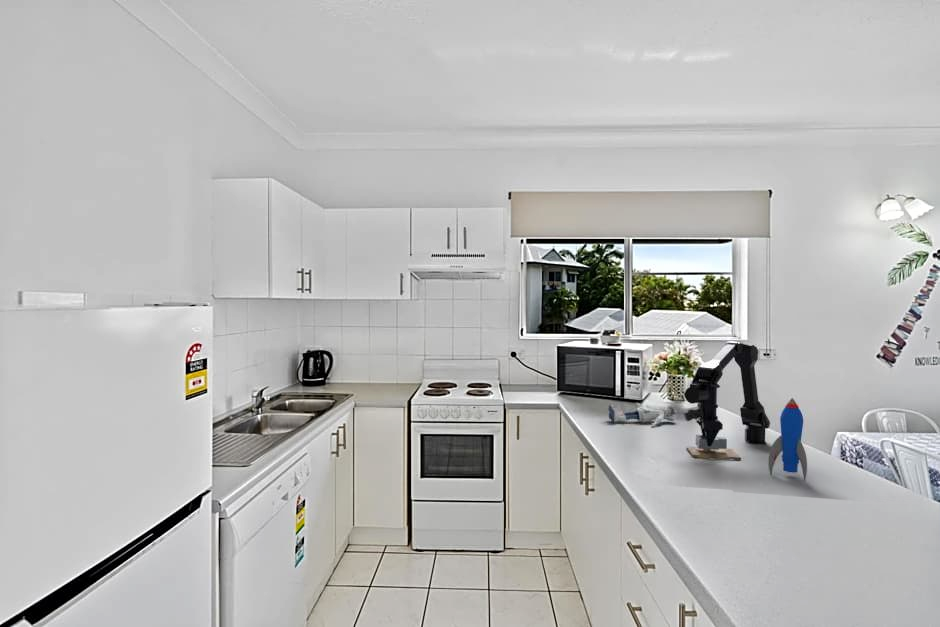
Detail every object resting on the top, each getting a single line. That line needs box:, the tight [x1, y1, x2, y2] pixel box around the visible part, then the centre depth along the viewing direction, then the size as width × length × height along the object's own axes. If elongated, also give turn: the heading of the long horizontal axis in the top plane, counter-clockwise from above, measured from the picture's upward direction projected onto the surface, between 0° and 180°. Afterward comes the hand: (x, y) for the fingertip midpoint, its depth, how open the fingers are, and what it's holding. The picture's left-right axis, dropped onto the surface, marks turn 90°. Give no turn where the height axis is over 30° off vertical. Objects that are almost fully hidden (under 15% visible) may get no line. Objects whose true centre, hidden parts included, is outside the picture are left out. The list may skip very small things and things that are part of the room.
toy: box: [608, 402, 678, 428], centre depth 264 cm, size 23×8×30 cm
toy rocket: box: [767, 397, 808, 482], centre depth 185 cm, size 11×10×25 cm
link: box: [695, 434, 728, 450], centre depth 211 cm, size 10×7×4 cm
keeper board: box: [685, 445, 742, 461], centre depth 210 cm, size 16×12×5 cm
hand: (707, 443), depth 211 cm, fingers closed on link, 7 cm apart
